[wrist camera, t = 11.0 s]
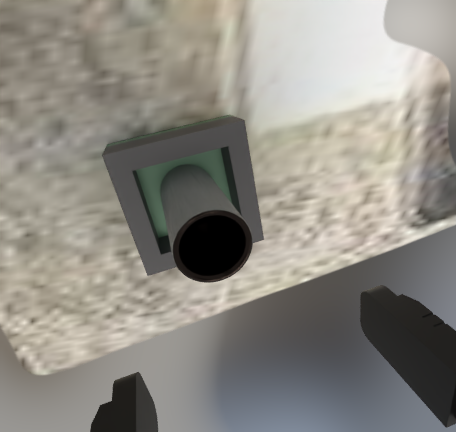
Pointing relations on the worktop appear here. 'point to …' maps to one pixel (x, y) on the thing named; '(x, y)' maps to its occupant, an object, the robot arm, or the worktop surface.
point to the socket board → (170, 158)
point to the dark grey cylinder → (203, 226)
